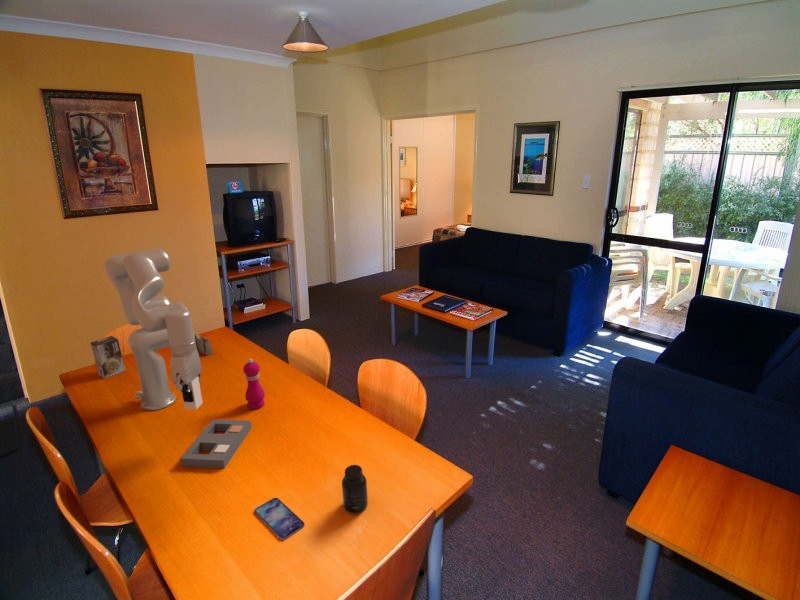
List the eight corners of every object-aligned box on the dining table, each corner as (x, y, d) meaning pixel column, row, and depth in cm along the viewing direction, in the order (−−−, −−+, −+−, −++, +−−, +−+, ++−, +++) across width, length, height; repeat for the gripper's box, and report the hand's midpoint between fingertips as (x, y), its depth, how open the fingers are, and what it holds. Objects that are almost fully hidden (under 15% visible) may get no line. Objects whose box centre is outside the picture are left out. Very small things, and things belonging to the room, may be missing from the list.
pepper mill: (268, 400, 184) (263, 355, 177) (261, 410, 177) (255, 363, 171) (251, 400, 184) (245, 354, 178) (243, 409, 178) (237, 363, 171)
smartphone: (276, 496, 133) (306, 524, 123) (276, 498, 133) (306, 527, 123) (252, 509, 128) (282, 540, 118) (253, 512, 128) (282, 542, 118)
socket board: (182, 466, 147) (180, 457, 145) (214, 426, 167) (212, 418, 166) (224, 468, 145) (223, 459, 144) (251, 427, 166) (250, 419, 165)
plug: (184, 408, 152) (179, 376, 149) (191, 402, 156) (185, 370, 152) (196, 409, 152) (190, 376, 148) (202, 403, 156) (197, 371, 152)
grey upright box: (195, 350, 231) (192, 332, 228) (201, 348, 233) (198, 331, 230) (206, 357, 224) (203, 338, 221) (212, 355, 226) (209, 336, 223)
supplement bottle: (343, 497, 133) (341, 462, 129) (367, 495, 133) (366, 461, 129) (343, 515, 126) (340, 479, 122) (368, 513, 127) (366, 477, 123)
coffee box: (119, 367, 214) (111, 335, 209) (126, 371, 210) (118, 338, 205) (98, 375, 207) (89, 342, 202) (104, 379, 203) (96, 345, 198)
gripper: (186, 336, 156) (195, 385, 161) (156, 358, 140) (167, 411, 146) (207, 337, 155) (215, 385, 161) (179, 359, 139) (189, 412, 145)
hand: (192, 397), depth 153 cm, fingers closed on plug, 4 cm apart
